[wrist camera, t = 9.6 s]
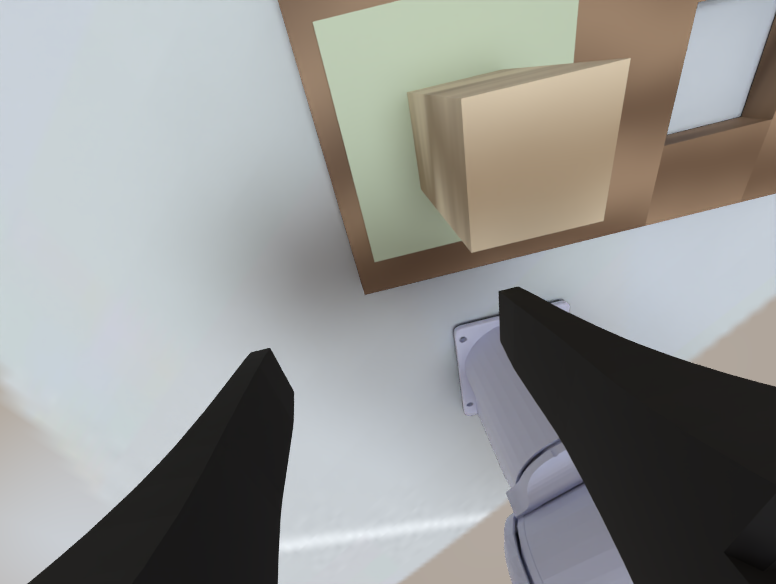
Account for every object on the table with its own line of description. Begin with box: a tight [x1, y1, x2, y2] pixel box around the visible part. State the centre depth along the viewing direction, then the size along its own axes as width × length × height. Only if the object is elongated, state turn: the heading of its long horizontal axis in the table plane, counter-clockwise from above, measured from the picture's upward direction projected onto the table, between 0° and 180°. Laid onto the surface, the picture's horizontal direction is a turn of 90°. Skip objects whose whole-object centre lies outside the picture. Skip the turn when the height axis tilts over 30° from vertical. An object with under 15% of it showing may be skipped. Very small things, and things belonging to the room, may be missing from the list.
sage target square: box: [313, 0, 579, 262], centre depth 15 cm, size 10×10×1 cm
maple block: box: [407, 58, 631, 253], centre depth 12 cm, size 4×4×7 cm
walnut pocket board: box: [278, 0, 776, 295], centre depth 16 cm, size 14×26×2 cm, turn 102°
